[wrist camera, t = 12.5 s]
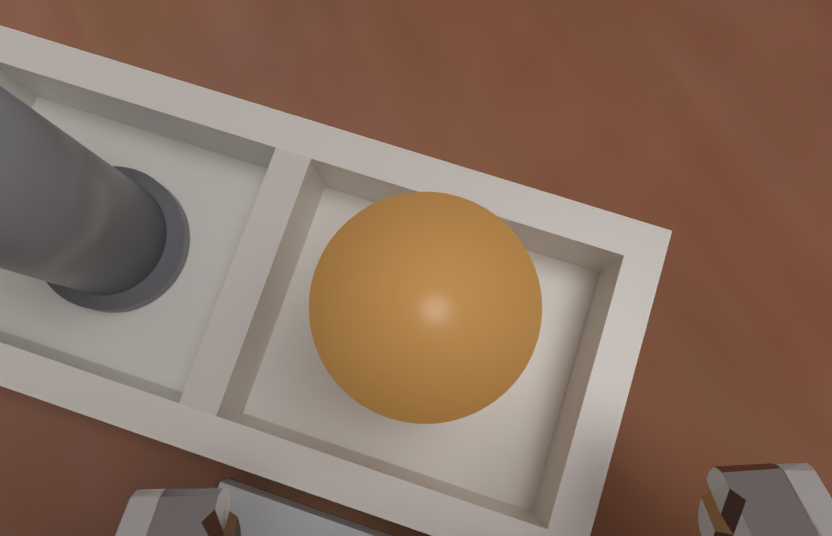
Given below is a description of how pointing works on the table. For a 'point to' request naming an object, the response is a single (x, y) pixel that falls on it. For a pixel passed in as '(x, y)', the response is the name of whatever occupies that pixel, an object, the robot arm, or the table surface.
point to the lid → (285, 515)
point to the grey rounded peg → (83, 218)
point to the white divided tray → (289, 311)
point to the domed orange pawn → (425, 307)
